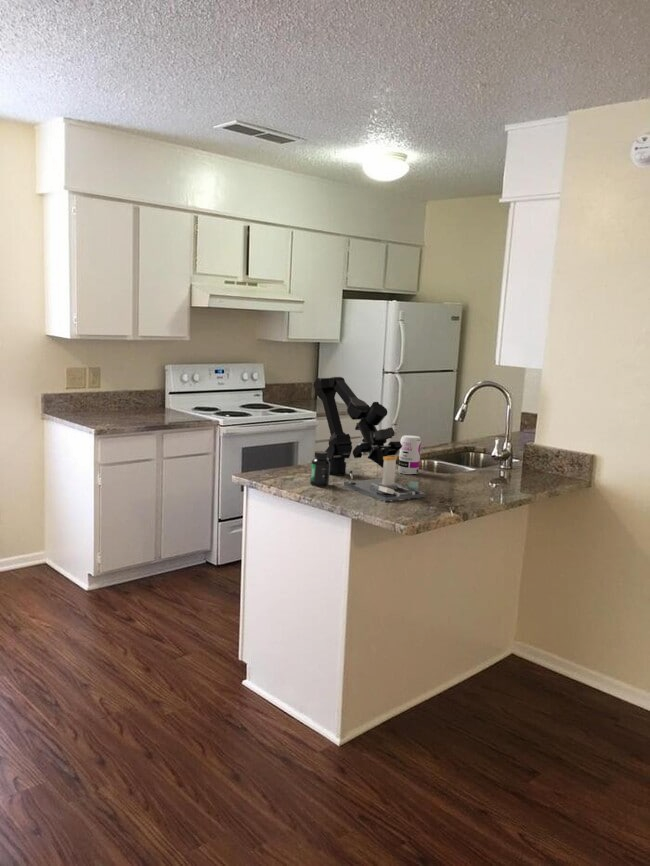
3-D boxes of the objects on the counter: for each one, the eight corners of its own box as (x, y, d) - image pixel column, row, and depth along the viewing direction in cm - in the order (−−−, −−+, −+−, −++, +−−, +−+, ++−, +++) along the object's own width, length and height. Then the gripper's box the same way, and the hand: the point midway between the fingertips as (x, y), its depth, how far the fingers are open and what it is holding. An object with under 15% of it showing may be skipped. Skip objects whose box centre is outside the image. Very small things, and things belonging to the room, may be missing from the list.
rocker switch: (378, 489, 247) (379, 485, 247) (385, 491, 249) (386, 487, 249) (386, 492, 244) (387, 488, 244) (393, 494, 246) (394, 490, 246)
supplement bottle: (311, 486, 258) (313, 453, 256) (308, 482, 264) (310, 450, 262) (330, 487, 259) (332, 454, 257) (327, 482, 265) (329, 450, 264)
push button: (406, 487, 254) (406, 481, 253) (413, 487, 256) (414, 481, 255) (412, 490, 251) (412, 484, 250) (419, 489, 253) (420, 483, 252)
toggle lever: (350, 480, 260) (348, 470, 261) (352, 480, 261) (351, 470, 262) (351, 479, 259) (350, 470, 260) (354, 479, 260) (352, 469, 261)
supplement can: (418, 472, 294) (421, 435, 292) (418, 476, 286) (421, 439, 284) (398, 470, 295) (400, 434, 293) (398, 474, 287) (401, 437, 285)
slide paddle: (377, 486, 256) (380, 455, 254) (388, 485, 259) (391, 455, 257) (386, 490, 252) (389, 458, 250) (397, 489, 255) (399, 457, 253)
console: (343, 485, 262) (344, 479, 262) (382, 482, 272) (383, 475, 272) (384, 502, 242) (385, 494, 242) (425, 497, 252) (426, 490, 252)
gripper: (359, 420, 252) (376, 457, 245) (401, 419, 262) (418, 454, 255) (345, 439, 260) (361, 475, 252) (385, 437, 270) (402, 472, 263)
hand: (386, 468), depth 255 cm, fingers closed
